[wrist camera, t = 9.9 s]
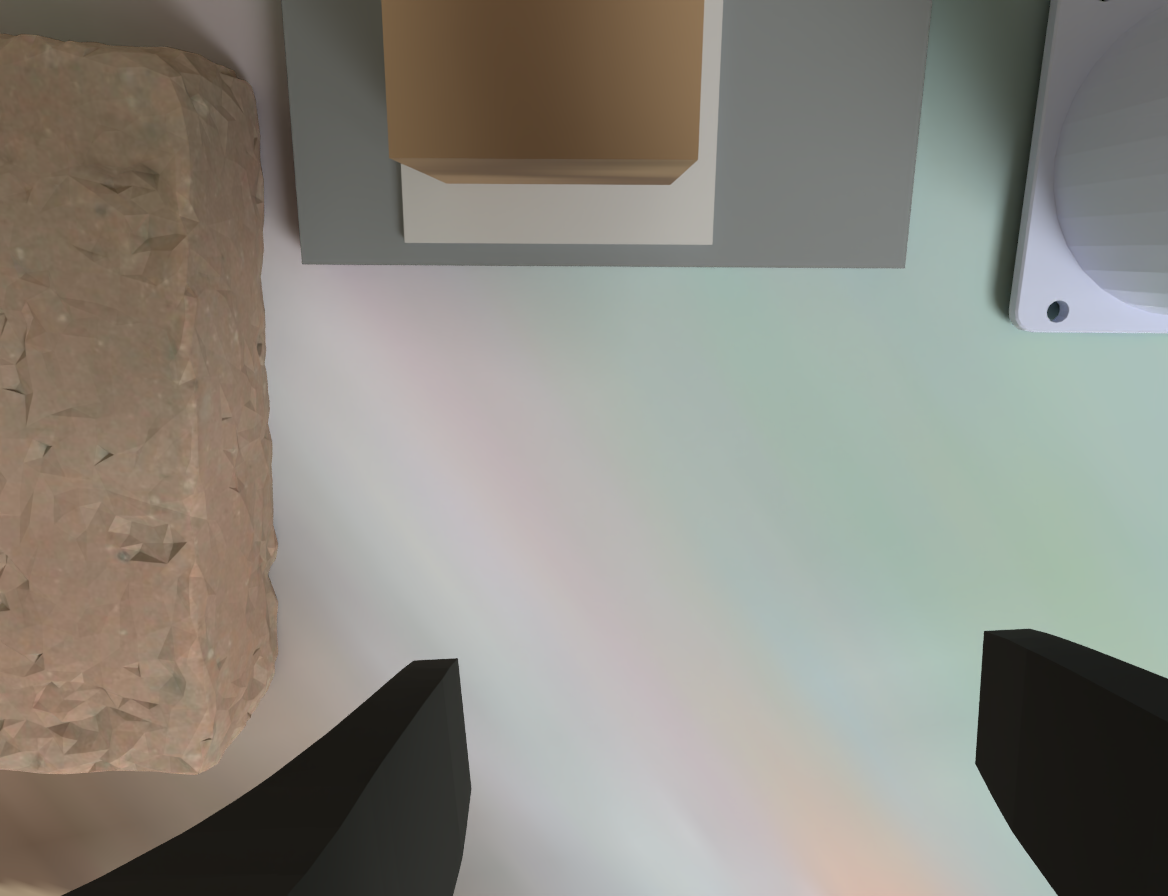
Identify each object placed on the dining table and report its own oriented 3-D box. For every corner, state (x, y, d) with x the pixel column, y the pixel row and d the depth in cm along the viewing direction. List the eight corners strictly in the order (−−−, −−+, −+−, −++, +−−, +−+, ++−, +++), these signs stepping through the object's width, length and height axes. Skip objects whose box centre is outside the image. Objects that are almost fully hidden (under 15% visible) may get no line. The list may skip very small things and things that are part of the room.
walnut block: (677, -69, 16) (713, -204, 11) (670, 185, 18) (698, 160, 13) (438, -69, 16) (370, -203, 12) (446, 183, 18) (389, 158, 13)
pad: (725, -102, 16) (728, -108, 16) (710, 244, 18) (712, 244, 18) (391, -102, 17) (387, -108, 16) (407, 242, 18) (404, 242, 18)
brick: (-76, 48, 19) (-292, -16, 14) (274, 73, 19) (170, 18, 14) (3, 668, 23) (-145, 773, 18) (289, 689, 23) (212, 799, 18)
